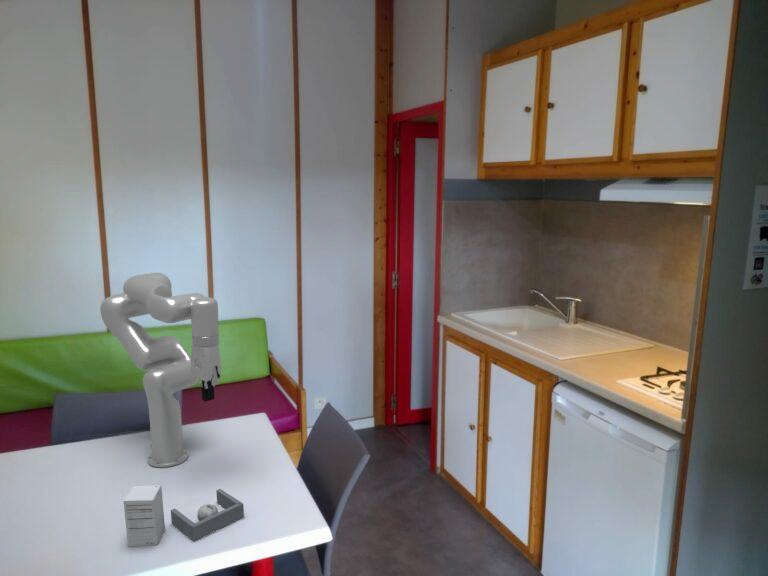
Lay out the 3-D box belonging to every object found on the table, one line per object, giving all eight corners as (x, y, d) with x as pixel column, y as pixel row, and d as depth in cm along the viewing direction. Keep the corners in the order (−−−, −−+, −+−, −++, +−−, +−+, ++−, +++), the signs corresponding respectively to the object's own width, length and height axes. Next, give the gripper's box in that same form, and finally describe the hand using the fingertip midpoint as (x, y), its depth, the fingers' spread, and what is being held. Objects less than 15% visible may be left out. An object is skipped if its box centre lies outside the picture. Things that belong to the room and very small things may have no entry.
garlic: (223, 522, 155) (222, 504, 154) (204, 530, 151) (203, 512, 150) (212, 513, 159) (211, 495, 158) (193, 521, 155) (192, 503, 154)
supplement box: (136, 530, 151) (132, 485, 149) (165, 528, 152) (162, 484, 149) (126, 547, 144) (122, 500, 142) (157, 546, 144) (153, 499, 142)
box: (171, 524, 154) (170, 510, 153) (220, 501, 164) (220, 488, 164) (193, 541, 146) (192, 527, 145) (243, 517, 157) (243, 503, 156)
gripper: (181, 337, 171) (184, 395, 175) (206, 348, 161) (209, 410, 164) (205, 332, 176) (207, 389, 180) (230, 343, 166) (232, 403, 170)
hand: (208, 399), depth 172 cm, fingers closed
